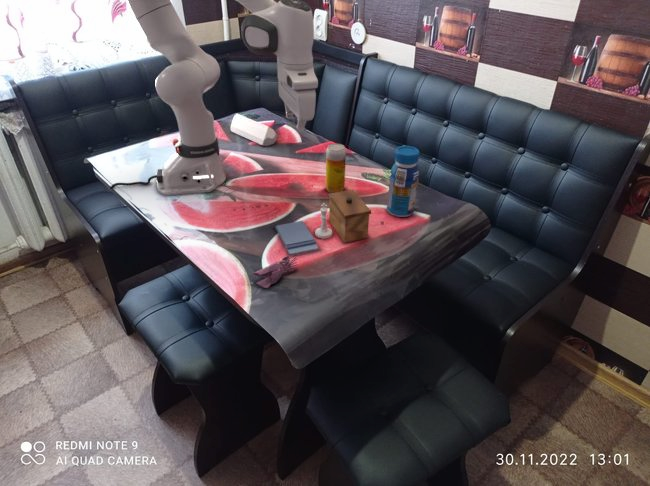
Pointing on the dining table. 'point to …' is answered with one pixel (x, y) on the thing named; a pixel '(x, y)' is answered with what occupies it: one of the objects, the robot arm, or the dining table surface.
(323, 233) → the chess piece
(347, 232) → the bread box
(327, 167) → the yellow cylinder
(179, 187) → the robot arm
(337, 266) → the dining table surface
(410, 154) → the beverage bottle
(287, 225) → the grey flat slab
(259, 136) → the crystal
